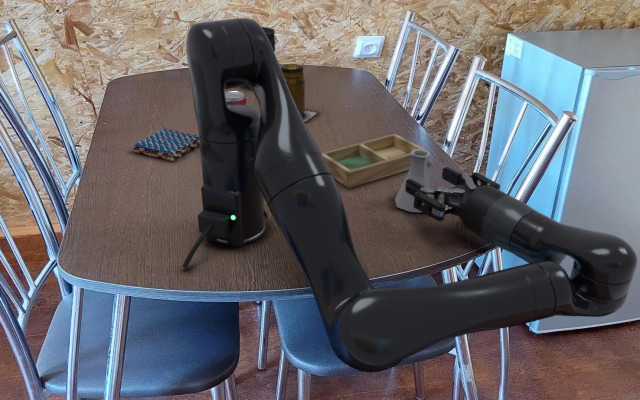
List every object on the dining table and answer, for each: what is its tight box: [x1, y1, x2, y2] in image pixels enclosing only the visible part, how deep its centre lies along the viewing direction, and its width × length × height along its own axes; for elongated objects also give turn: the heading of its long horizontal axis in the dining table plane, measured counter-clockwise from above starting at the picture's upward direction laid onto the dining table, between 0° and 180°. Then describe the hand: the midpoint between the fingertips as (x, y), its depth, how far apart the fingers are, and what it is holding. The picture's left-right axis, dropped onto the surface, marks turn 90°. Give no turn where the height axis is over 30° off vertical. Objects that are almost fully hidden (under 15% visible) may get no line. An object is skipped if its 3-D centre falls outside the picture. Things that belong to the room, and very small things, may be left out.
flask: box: [394, 149, 434, 213], centre depth 98 cm, size 7×7×10 cm
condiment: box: [280, 63, 317, 123], centre depth 136 cm, size 7×8×12 cm
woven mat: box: [132, 128, 200, 162], centre depth 119 cm, size 10×11×2 cm
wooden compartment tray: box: [320, 133, 428, 189], centre depth 113 cm, size 10×19×3 cm, turn 124°
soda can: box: [225, 90, 248, 106], centre depth 117 cm, size 5×5×12 cm
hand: (425, 178), depth 97 cm, fingers open, 8 cm apart
